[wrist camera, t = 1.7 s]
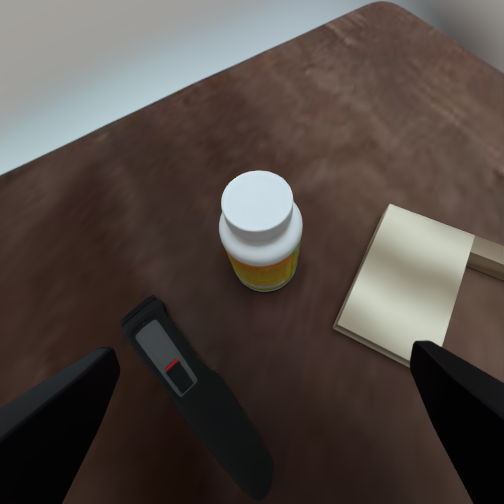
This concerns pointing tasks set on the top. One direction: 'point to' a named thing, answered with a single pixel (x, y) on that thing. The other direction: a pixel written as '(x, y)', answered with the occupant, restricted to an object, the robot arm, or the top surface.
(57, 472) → the robot arm
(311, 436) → the top surface
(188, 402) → the electric trimmer
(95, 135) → the top surface
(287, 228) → the supplement bottle
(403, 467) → the top surface
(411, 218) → the notched board
